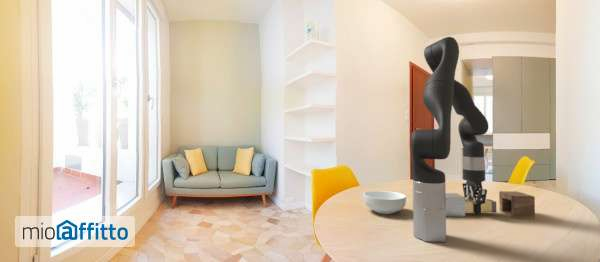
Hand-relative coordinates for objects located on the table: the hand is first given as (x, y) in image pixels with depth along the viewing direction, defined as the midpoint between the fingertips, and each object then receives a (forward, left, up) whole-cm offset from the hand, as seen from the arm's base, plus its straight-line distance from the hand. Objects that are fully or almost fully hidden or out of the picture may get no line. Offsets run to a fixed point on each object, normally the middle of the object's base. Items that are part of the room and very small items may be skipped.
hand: (474, 211), depth 109 cm
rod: (0, +5, 0) cm, 5 cm away
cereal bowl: (+2, +34, -1) cm, 34 cm away
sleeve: (0, +12, -1) cm, 12 cm away
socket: (0, -15, -1) cm, 16 cm away
